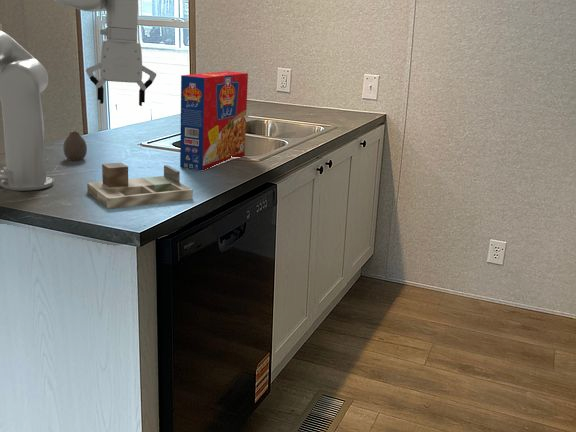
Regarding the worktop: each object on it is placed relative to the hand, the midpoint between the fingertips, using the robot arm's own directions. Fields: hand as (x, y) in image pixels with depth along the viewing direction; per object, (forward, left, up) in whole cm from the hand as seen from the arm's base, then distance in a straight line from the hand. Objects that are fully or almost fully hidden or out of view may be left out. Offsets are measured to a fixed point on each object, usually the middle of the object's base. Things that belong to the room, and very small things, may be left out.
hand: (121, 104), depth 163 cm
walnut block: (-4, -6, -20) cm, 21 cm away
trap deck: (+1, -10, -22) cm, 24 cm away
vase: (-2, +36, -22) cm, 43 cm away
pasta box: (+38, +20, -22) cm, 49 cm away
